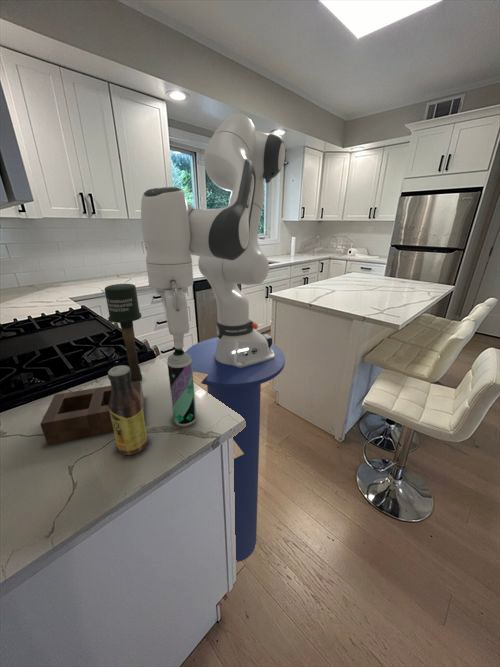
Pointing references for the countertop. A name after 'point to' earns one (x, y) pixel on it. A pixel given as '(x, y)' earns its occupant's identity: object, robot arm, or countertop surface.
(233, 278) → the robot arm
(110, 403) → the sauce bottle
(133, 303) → the potato masher grenade
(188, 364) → the spray can
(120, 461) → the countertop surface
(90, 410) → the holder
